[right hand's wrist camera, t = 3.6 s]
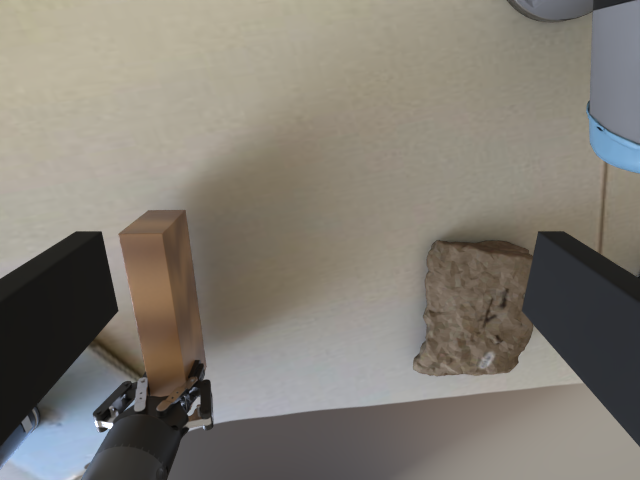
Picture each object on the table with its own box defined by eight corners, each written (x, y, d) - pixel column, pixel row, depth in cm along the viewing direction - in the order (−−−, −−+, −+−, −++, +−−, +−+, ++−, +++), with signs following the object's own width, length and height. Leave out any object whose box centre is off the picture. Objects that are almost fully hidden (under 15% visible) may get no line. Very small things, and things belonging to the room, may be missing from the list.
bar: (148, 210, 52) (117, 233, 44) (185, 209, 52) (162, 233, 44) (174, 367, 61) (153, 410, 53) (206, 366, 61) (190, 410, 53)
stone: (513, 380, 60) (524, 403, 55) (412, 363, 64) (412, 384, 58) (537, 242, 56) (551, 252, 50) (427, 232, 59) (428, 240, 53)
